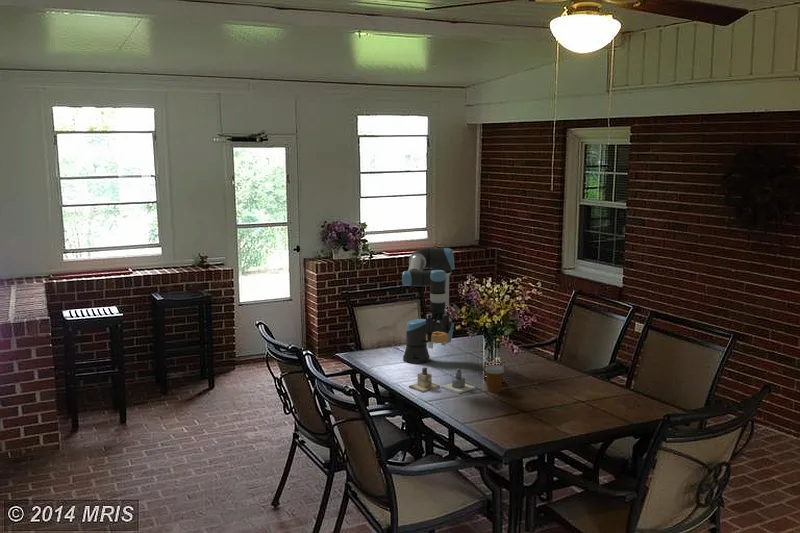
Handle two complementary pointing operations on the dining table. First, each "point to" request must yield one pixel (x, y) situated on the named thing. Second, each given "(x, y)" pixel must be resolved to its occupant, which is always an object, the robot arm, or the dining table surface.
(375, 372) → the dining table surface
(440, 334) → the ring
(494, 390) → the disposable coffee cup
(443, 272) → the robot arm
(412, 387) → the stand
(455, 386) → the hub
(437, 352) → the dining table surface
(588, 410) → the dining table surface
